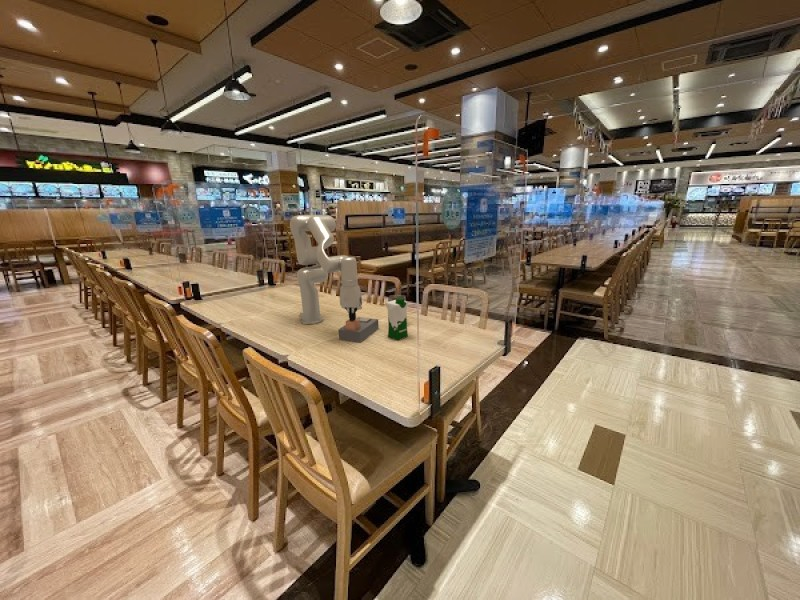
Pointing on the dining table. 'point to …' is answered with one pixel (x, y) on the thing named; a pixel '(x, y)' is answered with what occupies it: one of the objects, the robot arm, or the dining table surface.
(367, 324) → the button box
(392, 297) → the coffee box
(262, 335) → the dining table surface
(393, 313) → the milk carton
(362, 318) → the metal plunger
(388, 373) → the dining table surface
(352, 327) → the terracotta plunger
